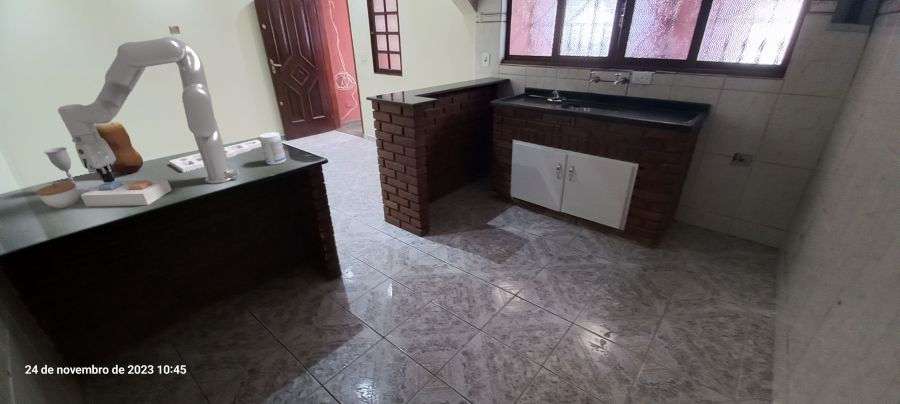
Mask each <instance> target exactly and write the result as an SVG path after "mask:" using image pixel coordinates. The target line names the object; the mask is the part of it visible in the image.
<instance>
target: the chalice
mask: <svg viewBox="0 0 900 404" xmlns="http://www.w3.org/2000/svg"><path fill="white" fill-rule="evenodd" d="M43 153H44V154H45V155H46V156H47V157H48V159H49V161H50V163H51V164H52V165H53V166H55V167H56V168H58V169H59V170H60V171H61V172H65V175H66V176H67V177H68V180H69V181H70V182H73V183H75V185H76V188H77V190H78V191H79V189H80V190H82V188H83V189H84V188H85V186H83V185H82V184H81V183H80V182H75V180H74V177H72V174H71V173H70V172H69V170H71V167H72V162H71V161H72V160H71V157H70V154H69V153H68V151H67V147H65V146H64V147H61V146H60V147H53V148H47V149H46V150H44V151H43Z"/></svg>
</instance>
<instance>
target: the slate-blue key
mask: <svg viewBox="0 0 900 404" xmlns="http://www.w3.org/2000/svg"><path fill="white" fill-rule="evenodd" d="M121 181H122V180H115V181H113V182H103V184H100V185H98V186H97V187H98V188H99V190H100V191H107V190H114V189H116V188H118V187H120V186H122V184H121Z"/></svg>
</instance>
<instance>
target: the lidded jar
mask: <svg viewBox="0 0 900 404" xmlns="http://www.w3.org/2000/svg"><path fill="white" fill-rule="evenodd" d="M36 194H37V195H38V197H39V198H40V200H41V201H42V202H43V203H44V204H46V205H48V206H50V207H52V208H55V209H64V208H68V207H71V206H74V205H75V204H76V203H77V201H78V199H79V196H80V195H79V194H80V193H79V190H77V188H76V185H75V183H73V182H71V181H70V182H69V181H67V182H58V183H56V182H53V183H51V184H50V185H45V186H44V187H41V188H39V189H37V190H36Z"/></svg>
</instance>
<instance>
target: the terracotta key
mask: <svg viewBox="0 0 900 404" xmlns="http://www.w3.org/2000/svg"><path fill="white" fill-rule="evenodd" d="M150 185H152V184H151V182H150V181H137V182H135V183H133V184H131V185H129V189H130V190H143V189H145V188H147V187H148V186H150Z"/></svg>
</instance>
